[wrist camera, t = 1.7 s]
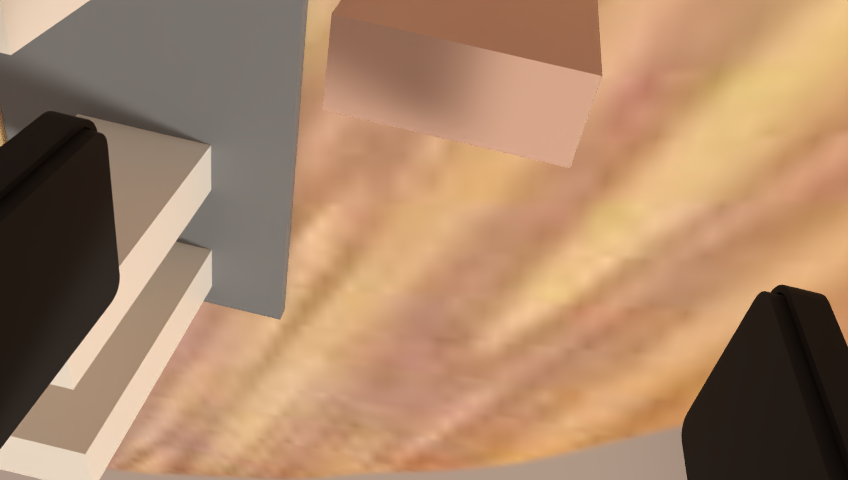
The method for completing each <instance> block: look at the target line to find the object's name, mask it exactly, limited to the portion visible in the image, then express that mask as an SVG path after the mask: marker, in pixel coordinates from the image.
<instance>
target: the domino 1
mask: <svg viewBox="0 0 848 480" xmlns="http://www.w3.org/2000/svg"><path fill="white" fill-rule="evenodd" d="M88 1H90V0H0V53H4V54H9V55H12V54H13V53H15V52H16V51H18V50H19V49H21V48H22V47H23V46H25V45H26V44H28V43H29V42H31V41H32V40H33V39H35V38H36V37H38V36H39V35H41V34H42V33H44V32H45V31H46V30H48V29H49V28H51V27H52V26H54V25H55V24H56V23H58V22H59V21H61V20H62V19H64V18H65V17H67V16H68V15H69V14H71V13H72V12H74V11H75V10H77V9H78V8H79V7H81V6H82V5H84V4H85V3H87V2H88Z"/></svg>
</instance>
